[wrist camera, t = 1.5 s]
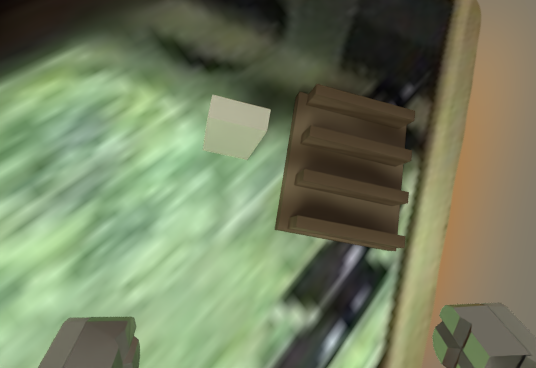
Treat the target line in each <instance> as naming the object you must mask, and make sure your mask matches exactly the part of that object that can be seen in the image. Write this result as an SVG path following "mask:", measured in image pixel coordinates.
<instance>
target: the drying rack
mask: <svg viewBox="0 0 536 368" xmlns="http://www.w3.org/2000/svg"><path fill="white" fill-rule="evenodd" d="M414 118H415V111H414V110H410V109H406V108H403V107H399V106H395V105H392V104H388V103H385V102H381V101H377V100H374V99H370V98H367V97H363V96H359V95H356V94H352V93H348V92H345V91H341V90H338V89H334V88H330V87H327V86H323V85H320V84H316V86H315V87H314V88H313V89H312V91H311V92H310V93H309V94H306V93H302V92H299V94H298V95H297V96H296V99H295V106H294V112H293V118H292V124H291V131H290V137H289V143H288V149H287V156H286V162H285V168H284V175H283V181H282V187H281V193H280V200H279V206H278V212H277V218H276V225H275V230H280V231H285V232H290V233H296V234H301V235H306V236H312V237H317V238H323V239H328V240H333V241H339V242H344V243H349V244H355V245H360V246H366V247H371V248H376V249H382V250H387V251H396V248H404V247H405V236H400V235H397V234H398V221H399V209H400V205H401V204H406V203H408V196H409V192H405V191H401V185H402V173H403V164H404V163H407V162H409V161H411V157H412V150H408V149H405V137H406V125H407V124H409V123H411V122H413V121H414Z"/></svg>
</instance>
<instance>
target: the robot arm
mask: <svg viewBox="0 0 536 368" xmlns="http://www.w3.org/2000/svg"><path fill="white" fill-rule="evenodd" d="M440 318H441V319H442V322H441V323H440V324H439V325H438V326H436V327H435V329H434V333H433V346H434V350H435V353H436V355H437V357H438V359H439V361H440V362H441V364H442V365H443V366H445V367H446V368H536V337H535V336H534V335H533V334H532V333H531V332H530V331H529V330H528V329H527V328H526V327H525V326H524V325H523V323H522V322H521V321H520V320H519V319H518V318H517V317H516V316H515V315H514V314H513V313H512V312H511V311H510V310H509V309H508V307H506V306H505V305H503V304H501V303H483V304H457V305H445V306H444V307H443V308H442V310H441V312H440ZM135 330H136V323H135V319H134V317H88V318H69V319H67V320H66V321H65V322H64V323H63V324H62V326H61V328H60V330H59V331H58V333H57V335H56V337H55V339H54V340H53V342H52V344H51V346H50V347H49V349H48V351H47V353H46V354H45V356H44V358H43V360H42V361H41V363H40V365H39V367H38V368H138V367H139V359H140V345H139V340H138V339H137V338H136V337H135V336H134V333H135Z"/></svg>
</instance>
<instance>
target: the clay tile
mask: <svg viewBox="0 0 536 368" xmlns="http://www.w3.org/2000/svg"><path fill="white" fill-rule="evenodd" d="M270 111H271V109H267V108H263V107H259V106H255V105H251V104H247V103H243V102H239V101H235V100H231V99H227V98H224V97H220V96H216V95H212V99H211V104H210V109H209V113H208V118H207V125H206V131H205V138H204V144H203V150H204V151H209V152H213V153H218V154H222V155H227V156H231V157H236V158H240V159H245V160H247V159H248V158H249V157H250V155H251V154H252V152H253V151H254V149H255V148H256V146H257V145H258V144H259V142H260V141H261V139H262V138H263V136H264V135H265V133H266V132H267V128H268V122H269V117H270Z"/></svg>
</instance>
